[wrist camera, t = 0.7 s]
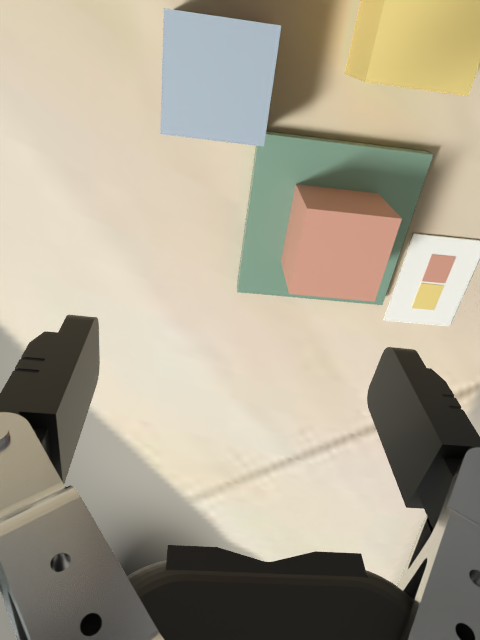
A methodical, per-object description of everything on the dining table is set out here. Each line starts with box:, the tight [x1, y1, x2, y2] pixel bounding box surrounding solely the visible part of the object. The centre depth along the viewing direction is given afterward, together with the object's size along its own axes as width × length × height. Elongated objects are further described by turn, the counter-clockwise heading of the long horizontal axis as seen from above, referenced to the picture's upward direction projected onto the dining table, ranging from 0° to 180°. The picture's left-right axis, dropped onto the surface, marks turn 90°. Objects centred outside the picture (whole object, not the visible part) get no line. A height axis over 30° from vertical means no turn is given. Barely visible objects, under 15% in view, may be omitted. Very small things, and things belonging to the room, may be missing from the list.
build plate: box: [237, 131, 433, 305], centre depth 34 cm, size 12×12×1 cm
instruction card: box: [383, 233, 480, 326], centre depth 38 cm, size 8×6×1 cm
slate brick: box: [161, 8, 281, 146], centre depth 27 cm, size 6×6×5 cm
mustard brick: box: [345, 0, 480, 96], centre depth 26 cm, size 6×6×5 cm
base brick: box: [281, 184, 402, 302], centre depth 32 cm, size 6×6×5 cm
